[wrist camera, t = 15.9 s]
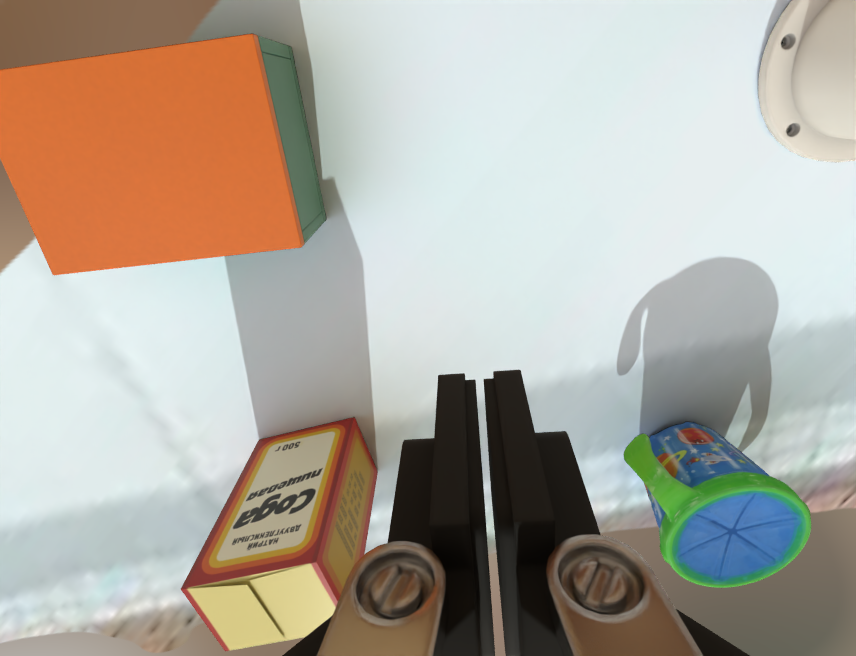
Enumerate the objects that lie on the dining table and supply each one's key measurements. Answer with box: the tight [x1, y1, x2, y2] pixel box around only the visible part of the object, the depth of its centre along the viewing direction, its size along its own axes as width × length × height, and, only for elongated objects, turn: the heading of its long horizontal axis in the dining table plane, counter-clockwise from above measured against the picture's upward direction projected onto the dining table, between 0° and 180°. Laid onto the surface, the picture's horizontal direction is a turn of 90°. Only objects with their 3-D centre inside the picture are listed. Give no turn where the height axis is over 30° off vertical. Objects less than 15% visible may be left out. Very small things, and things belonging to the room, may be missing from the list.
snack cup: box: [624, 422, 811, 587], centre depth 42 cm, size 16×10×10 cm
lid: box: [0, 34, 304, 275], centre depth 30 cm, size 16×12×1 cm
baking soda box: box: [181, 417, 378, 651], centre depth 40 cm, size 10×6×16 cm
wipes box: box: [258, 36, 326, 244], centre depth 33 cm, size 16×12×7 cm
